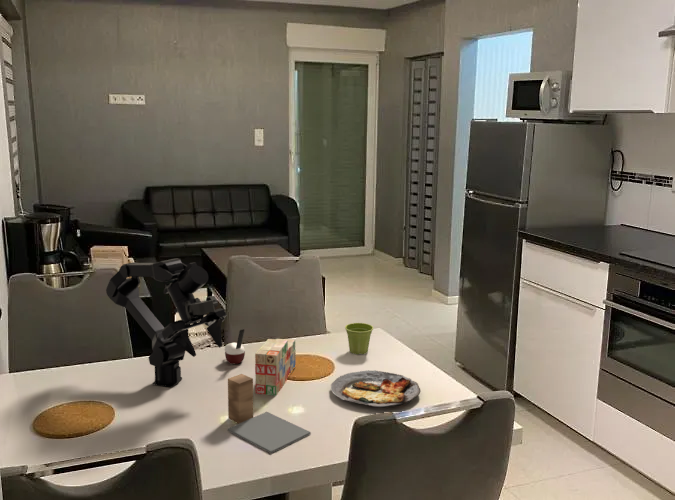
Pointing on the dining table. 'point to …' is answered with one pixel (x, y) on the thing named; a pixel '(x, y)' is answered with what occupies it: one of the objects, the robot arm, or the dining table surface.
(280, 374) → the stack of blocks
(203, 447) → the dining table surface
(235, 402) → the walnut block
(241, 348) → the cocoa
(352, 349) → the plant pot
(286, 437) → the mat
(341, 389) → the food plate
